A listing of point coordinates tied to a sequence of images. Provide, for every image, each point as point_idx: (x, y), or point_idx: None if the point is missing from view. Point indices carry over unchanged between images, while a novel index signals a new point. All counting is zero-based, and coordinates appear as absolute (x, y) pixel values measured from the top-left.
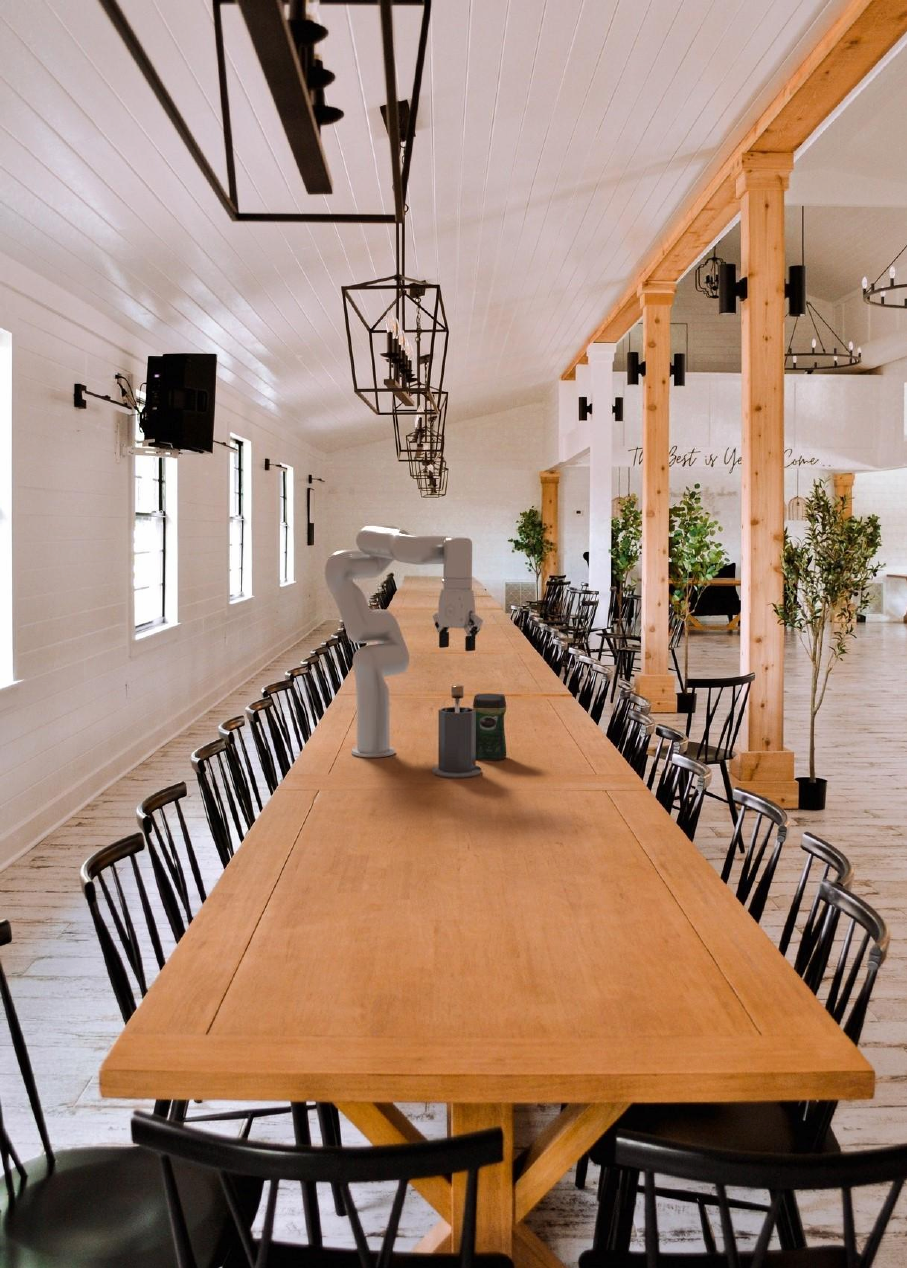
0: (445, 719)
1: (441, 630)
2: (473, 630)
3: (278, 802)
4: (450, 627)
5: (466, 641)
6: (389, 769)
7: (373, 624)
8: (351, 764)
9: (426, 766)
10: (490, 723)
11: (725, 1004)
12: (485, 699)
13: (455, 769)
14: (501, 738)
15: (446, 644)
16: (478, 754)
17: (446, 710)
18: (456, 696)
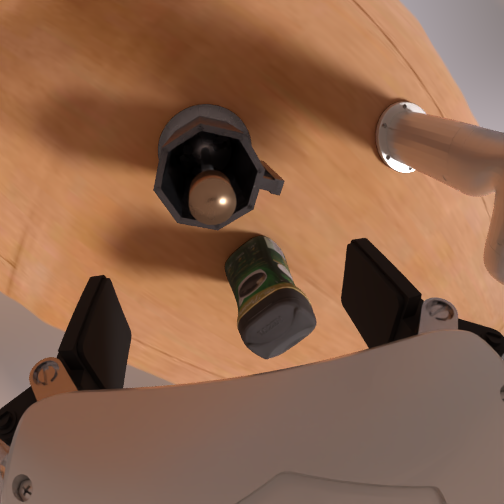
0: (197, 123)
1: (418, 323)
2: (17, 408)
3: None
4: (260, 373)
5: (76, 318)
6: (306, 72)
7: None
8: (373, 57)
9: (279, 135)
10: (245, 286)
11: None
12: (269, 315)
13: (179, 128)
14: (231, 286)
15: (348, 293)
16: (254, 240)
17: (255, 173)
18: (196, 177)
